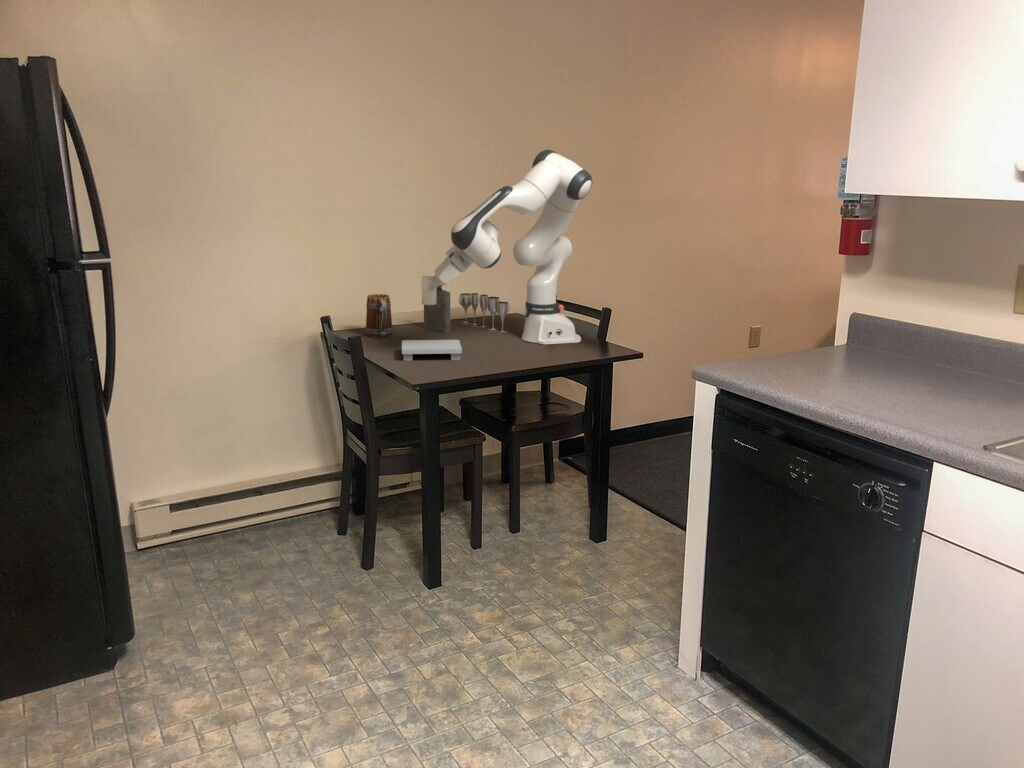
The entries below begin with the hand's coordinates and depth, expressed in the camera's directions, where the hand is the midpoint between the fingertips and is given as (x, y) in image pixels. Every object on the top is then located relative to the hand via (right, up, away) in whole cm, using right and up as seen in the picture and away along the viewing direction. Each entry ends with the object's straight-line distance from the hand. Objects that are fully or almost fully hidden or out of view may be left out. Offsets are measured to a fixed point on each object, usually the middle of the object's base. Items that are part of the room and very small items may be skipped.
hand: (429, 287), depth 272 cm
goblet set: (+16, -10, +53) cm, 56 cm away
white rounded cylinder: (0, -5, +2) cm, 5 cm away
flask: (-1, -11, +46) cm, 48 cm away
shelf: (0, -23, +6) cm, 24 cm away
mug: (-22, -14, +34) cm, 43 cm away
